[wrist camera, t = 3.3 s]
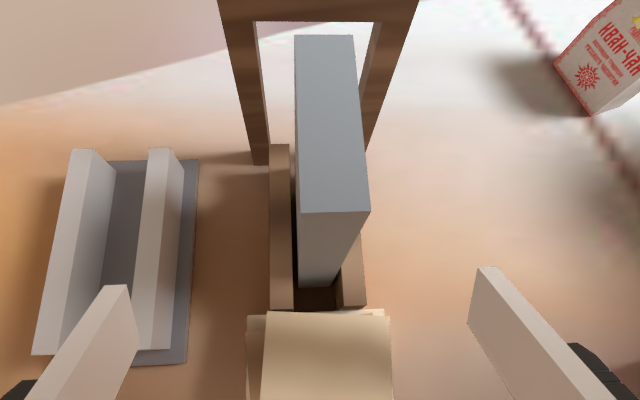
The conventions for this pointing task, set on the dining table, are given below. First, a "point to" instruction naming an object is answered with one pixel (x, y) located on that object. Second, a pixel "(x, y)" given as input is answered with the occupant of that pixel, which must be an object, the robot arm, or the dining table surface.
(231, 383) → the dining table surface
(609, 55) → the tea bag
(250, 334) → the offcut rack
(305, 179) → the slate board
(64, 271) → the slot stand
